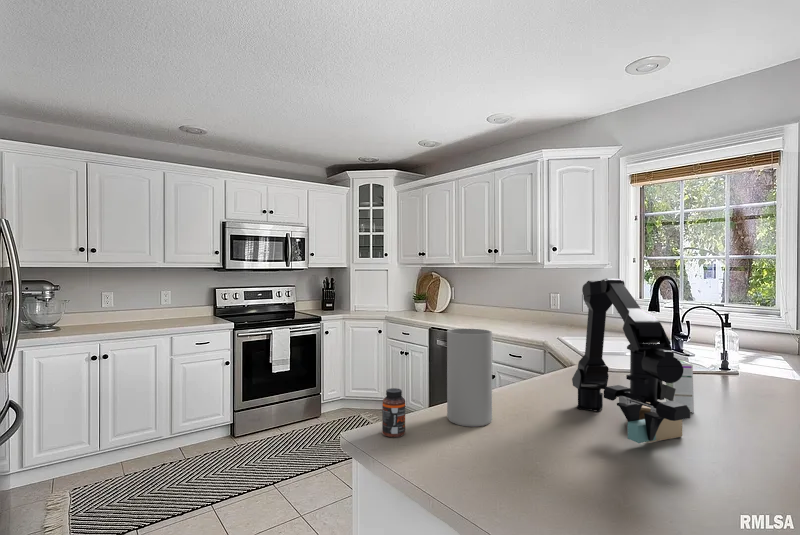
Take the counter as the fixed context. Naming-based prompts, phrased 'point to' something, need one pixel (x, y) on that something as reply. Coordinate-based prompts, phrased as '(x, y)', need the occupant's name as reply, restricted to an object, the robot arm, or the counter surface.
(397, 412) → the supplement bottle
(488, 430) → the counter surface
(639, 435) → the carton flap
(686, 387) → the syrup box
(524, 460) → the counter surface
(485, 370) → the cylinder vase
